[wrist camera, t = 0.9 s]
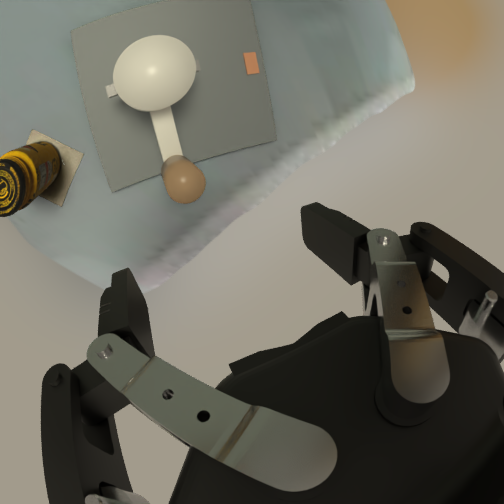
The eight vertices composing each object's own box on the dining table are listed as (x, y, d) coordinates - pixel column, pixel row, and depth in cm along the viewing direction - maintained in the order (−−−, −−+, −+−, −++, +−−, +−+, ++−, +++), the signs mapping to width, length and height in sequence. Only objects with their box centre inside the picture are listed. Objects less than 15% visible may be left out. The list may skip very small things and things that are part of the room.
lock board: (73, 34, 18) (63, 22, 13) (243, -4, 23) (260, -18, 18) (113, 189, 30) (108, 201, 26) (272, 138, 35) (291, 143, 31)
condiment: (32, 129, 21) (-13, 140, 12) (84, 153, 26) (56, 174, 17) (13, 182, 23) (-31, 215, 13) (62, 205, 28) (33, 248, 18)
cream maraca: (103, 65, 19) (90, 47, 12) (188, 40, 21) (206, 16, 14) (139, 194, 27) (140, 221, 21) (216, 167, 29) (241, 185, 23)
